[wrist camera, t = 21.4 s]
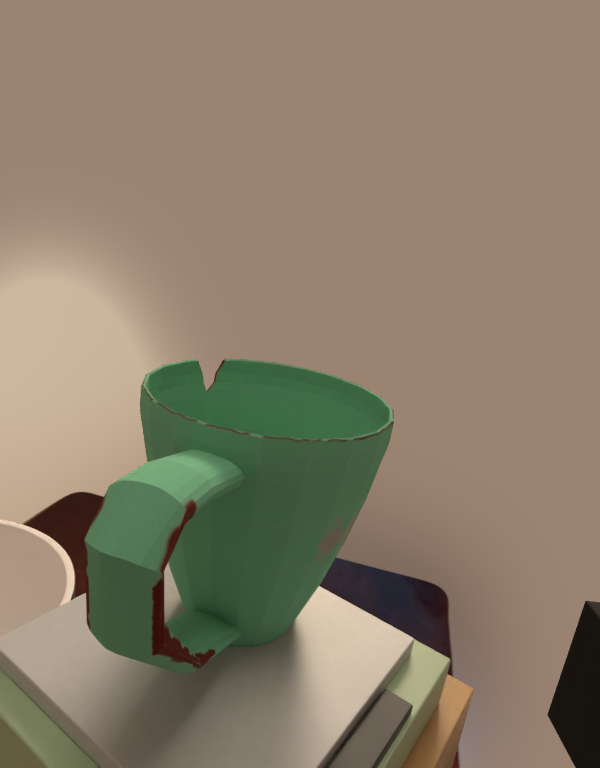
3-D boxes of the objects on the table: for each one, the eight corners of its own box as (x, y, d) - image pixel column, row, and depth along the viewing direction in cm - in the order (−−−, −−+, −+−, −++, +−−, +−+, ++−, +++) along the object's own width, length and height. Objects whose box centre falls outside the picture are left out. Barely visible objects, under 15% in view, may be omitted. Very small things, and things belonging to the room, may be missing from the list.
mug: (195, 524, 30) (214, 347, 28) (369, 580, 28) (410, 391, 25) (-41, 743, 17) (-47, 434, 14) (261, 893, 14) (324, 550, 11)
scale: (439, 702, 25) (455, 643, 24) (238, 1050, 14) (254, 962, 13) (212, 566, 32) (218, 517, 31) (-45, 718, 21) (-46, 648, 20)
